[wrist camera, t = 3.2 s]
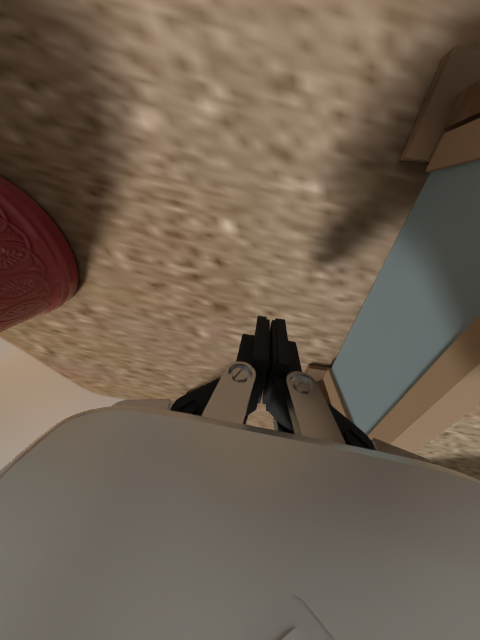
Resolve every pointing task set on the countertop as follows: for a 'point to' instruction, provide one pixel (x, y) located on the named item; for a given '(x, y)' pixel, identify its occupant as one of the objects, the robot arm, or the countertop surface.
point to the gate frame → (437, 123)
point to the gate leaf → (421, 312)
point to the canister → (31, 259)
